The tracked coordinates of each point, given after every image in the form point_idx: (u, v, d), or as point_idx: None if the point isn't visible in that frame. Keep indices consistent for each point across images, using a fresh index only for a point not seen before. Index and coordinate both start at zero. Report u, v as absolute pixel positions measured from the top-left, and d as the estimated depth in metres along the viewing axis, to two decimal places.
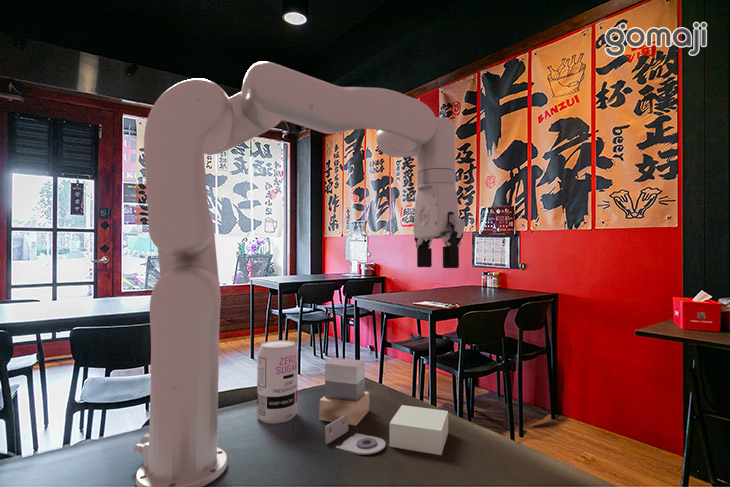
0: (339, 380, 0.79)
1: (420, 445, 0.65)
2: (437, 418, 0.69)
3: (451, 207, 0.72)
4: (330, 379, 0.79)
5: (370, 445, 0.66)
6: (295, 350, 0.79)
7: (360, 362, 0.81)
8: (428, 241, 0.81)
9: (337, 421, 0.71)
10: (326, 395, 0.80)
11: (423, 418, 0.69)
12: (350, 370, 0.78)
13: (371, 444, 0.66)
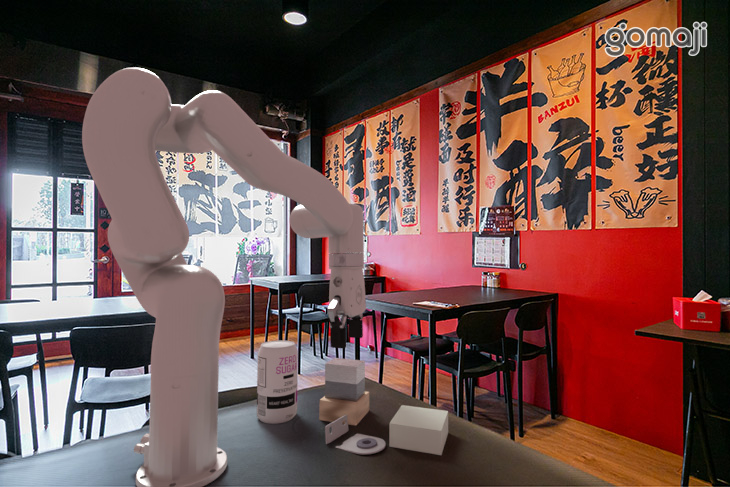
0: (339, 380, 0.79)
1: (420, 445, 0.65)
2: (437, 418, 0.69)
3: None
4: (330, 379, 0.79)
5: (370, 445, 0.66)
6: (295, 350, 0.79)
7: (360, 362, 0.81)
8: None
9: (337, 421, 0.71)
10: (326, 395, 0.80)
11: (423, 418, 0.69)
12: (350, 370, 0.78)
13: (371, 444, 0.66)
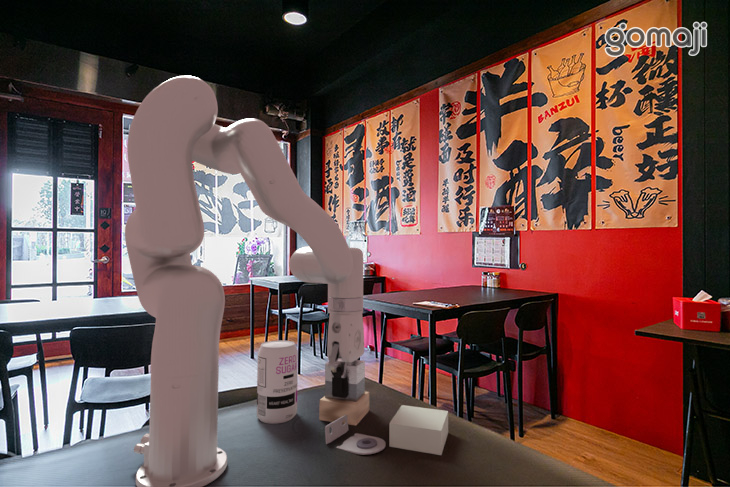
0: None
1: (420, 445, 0.65)
2: (437, 418, 0.69)
3: None
4: (330, 379, 0.79)
5: (370, 445, 0.66)
6: (295, 350, 0.79)
7: (360, 362, 0.81)
8: None
9: (337, 421, 0.71)
10: (326, 395, 0.80)
11: (423, 418, 0.69)
12: (350, 370, 0.78)
13: (371, 444, 0.66)
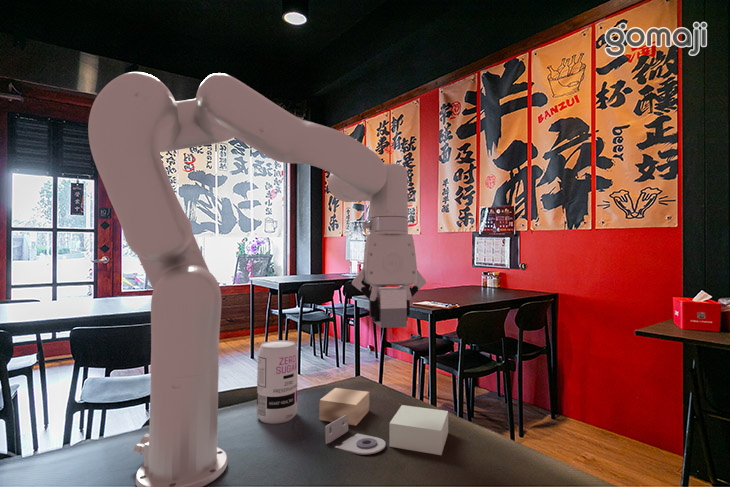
0: None
1: (420, 445, 0.65)
2: (437, 418, 0.69)
3: None
4: None
5: (370, 445, 0.66)
6: (294, 350, 0.79)
7: (397, 289, 0.72)
8: None
9: (337, 421, 0.71)
10: None
11: (423, 418, 0.69)
12: (379, 293, 0.73)
13: (371, 444, 0.66)
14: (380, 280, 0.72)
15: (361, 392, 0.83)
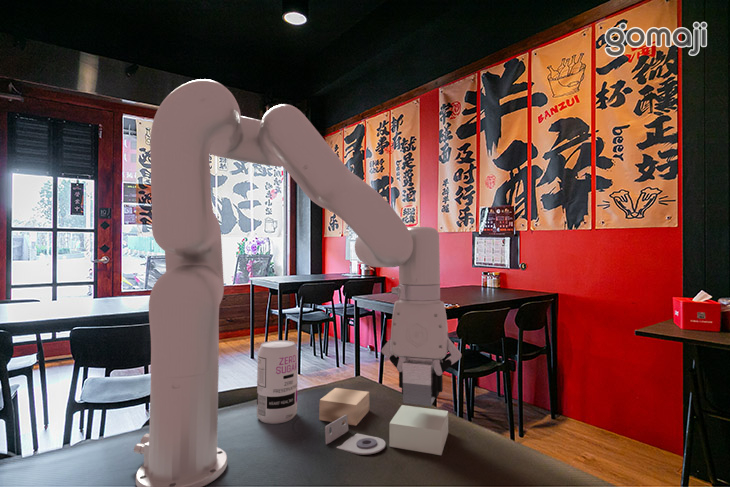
0: None
1: (420, 445, 0.65)
2: (437, 418, 0.69)
3: (447, 326, 0.69)
4: None
5: (370, 445, 0.66)
6: (294, 350, 0.79)
7: (421, 363, 0.67)
8: None
9: (337, 421, 0.71)
10: None
11: (423, 418, 0.69)
12: None
13: (371, 444, 0.66)
14: (404, 352, 0.69)
15: (361, 392, 0.83)
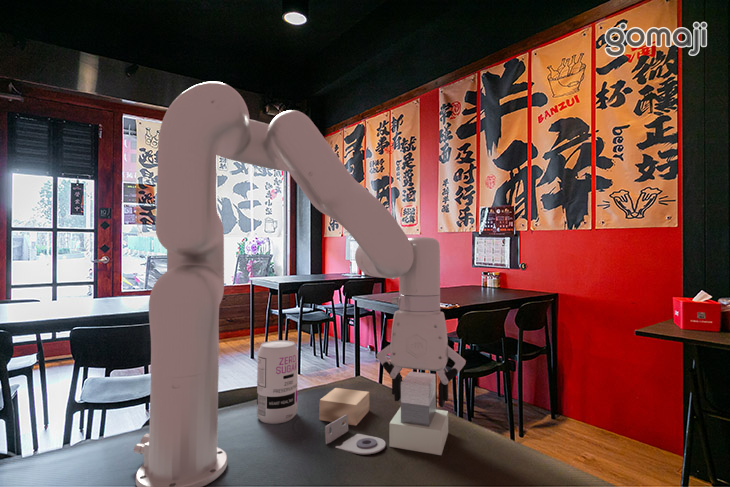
0: None
1: (420, 445, 0.65)
2: (437, 418, 0.69)
3: None
4: None
5: (370, 445, 0.66)
6: (294, 350, 0.79)
7: (420, 383, 0.67)
8: None
9: (337, 421, 0.71)
10: None
11: None
12: None
13: (371, 444, 0.66)
14: (403, 362, 0.69)
15: (361, 392, 0.83)
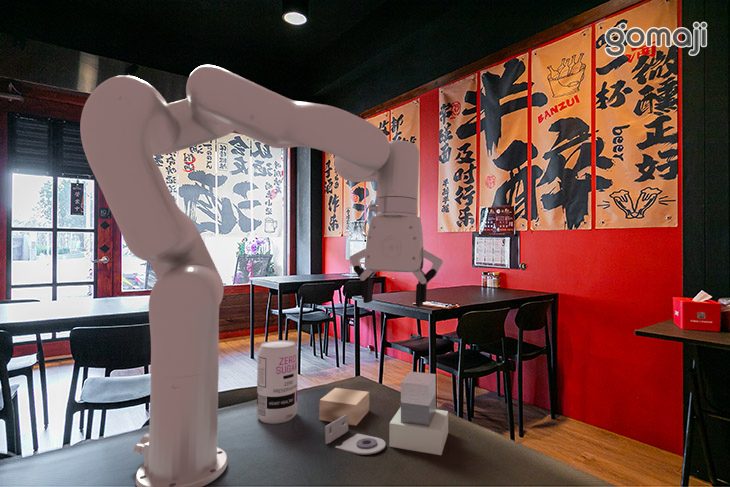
0: None
1: (420, 445, 0.65)
2: (437, 418, 0.69)
3: (422, 242, 0.69)
4: None
5: (370, 445, 0.66)
6: (295, 350, 0.79)
7: (420, 383, 0.67)
8: (371, 273, 0.72)
9: (337, 421, 0.71)
10: None
11: None
12: None
13: (371, 444, 0.66)
14: (377, 265, 0.68)
15: (361, 392, 0.83)
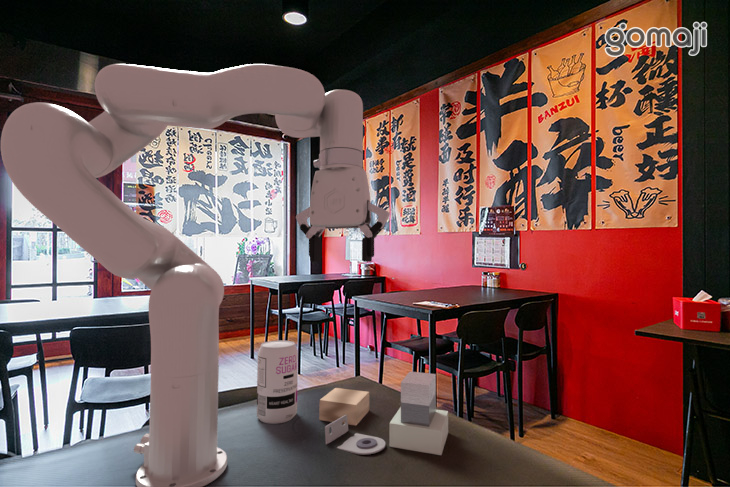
0: None
1: (420, 445, 0.65)
2: (437, 418, 0.69)
3: (368, 195, 0.66)
4: None
5: (370, 445, 0.66)
6: (295, 350, 0.79)
7: (420, 383, 0.67)
8: (319, 231, 0.69)
9: (337, 421, 0.71)
10: None
11: None
12: None
13: (371, 444, 0.66)
14: (321, 220, 0.65)
15: (361, 392, 0.83)
